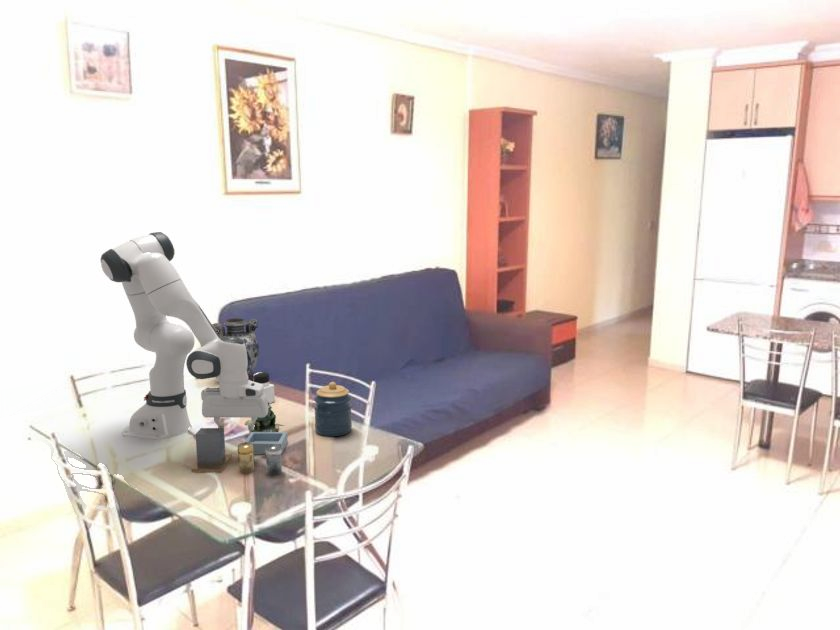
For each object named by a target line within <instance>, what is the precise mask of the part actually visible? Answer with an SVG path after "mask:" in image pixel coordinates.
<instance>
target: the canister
mask: <svg viewBox="0 0 840 630" xmlns="http://www.w3.org/2000/svg"><path fill="white" fill-rule="evenodd" d="M315 393H316V396H314V398H313V400H314V402H315V405H314V407H313V409H314V430H315V433H317V434H318V435H320V436H324V437H338V436H343V435H346V434H349V433H350V432H351V430H352V426H353V423H352V404H351V400H352V396H351V395H350V394H349V393H350V390H349V389H348V388H346V387H345V386H344V385H339V384H337V383H336V382H335V381H331V382H329V383H328V385H324V386H322V387H320V388H319V389H317V390H316V392H315Z"/></svg>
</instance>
